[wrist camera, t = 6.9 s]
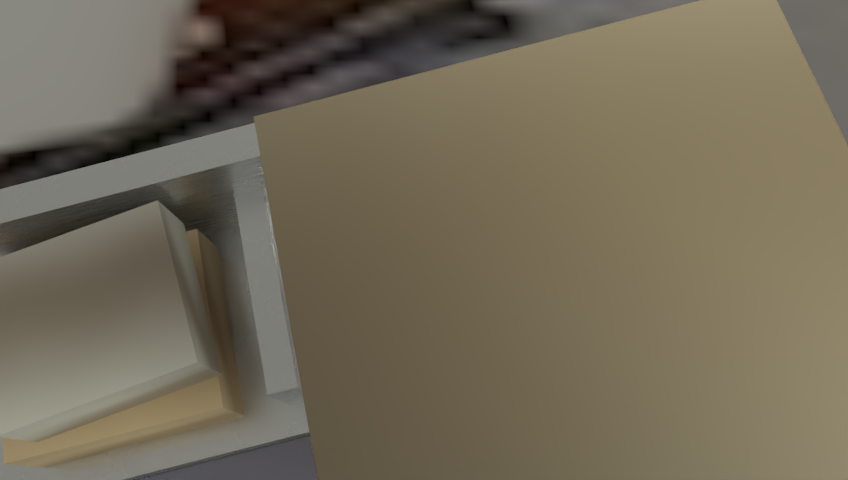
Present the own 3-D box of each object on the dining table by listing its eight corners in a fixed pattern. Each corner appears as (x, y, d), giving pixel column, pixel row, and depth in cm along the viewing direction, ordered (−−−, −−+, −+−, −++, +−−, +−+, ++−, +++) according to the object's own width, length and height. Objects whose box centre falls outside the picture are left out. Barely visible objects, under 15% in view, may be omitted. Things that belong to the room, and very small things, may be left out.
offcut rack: (626, 353, 22) (656, 317, 18) (5, 512, 22) (-114, 514, 18) (546, 115, 25) (555, 32, 20) (-6, 258, 25) (-112, 206, 21)
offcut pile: (248, 414, 22) (202, 397, 18) (42, 467, 22) (-42, 460, 19) (221, 239, 24) (174, 195, 20) (31, 289, 24) (-48, 253, 20)
